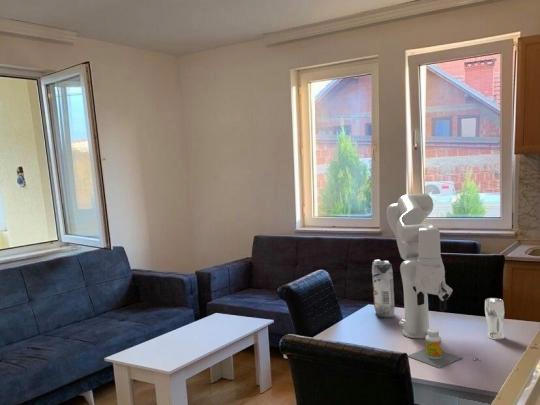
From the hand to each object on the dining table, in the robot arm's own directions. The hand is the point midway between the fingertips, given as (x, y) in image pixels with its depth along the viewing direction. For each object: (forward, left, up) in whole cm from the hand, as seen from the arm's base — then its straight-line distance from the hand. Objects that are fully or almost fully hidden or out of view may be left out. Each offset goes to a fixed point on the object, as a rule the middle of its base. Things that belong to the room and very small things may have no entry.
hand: (431, 307), depth 166 cm
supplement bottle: (0, 0, -18) cm, 18 cm away
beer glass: (+3, +34, -19) cm, 39 cm away
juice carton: (-47, +24, -19) cm, 56 cm away
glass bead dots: (+11, +9, -19) cm, 23 cm away
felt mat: (0, 0, -19) cm, 18 cm away
